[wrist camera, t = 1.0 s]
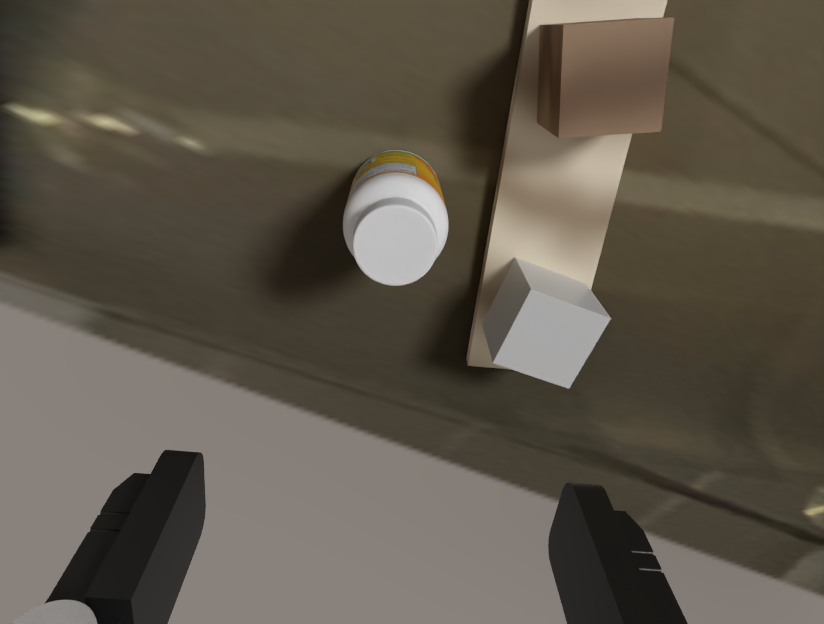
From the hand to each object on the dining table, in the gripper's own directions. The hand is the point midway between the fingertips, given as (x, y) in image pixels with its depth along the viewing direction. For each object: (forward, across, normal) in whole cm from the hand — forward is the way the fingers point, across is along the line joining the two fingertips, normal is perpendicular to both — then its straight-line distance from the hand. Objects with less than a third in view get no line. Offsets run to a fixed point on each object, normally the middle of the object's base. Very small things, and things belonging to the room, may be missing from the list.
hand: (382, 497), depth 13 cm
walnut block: (+25, -10, -8) cm, 28 cm away
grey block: (+25, -10, +6) cm, 27 cm away
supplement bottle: (+26, 0, 0) cm, 26 cm away
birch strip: (+26, -10, -1) cm, 28 cm away
